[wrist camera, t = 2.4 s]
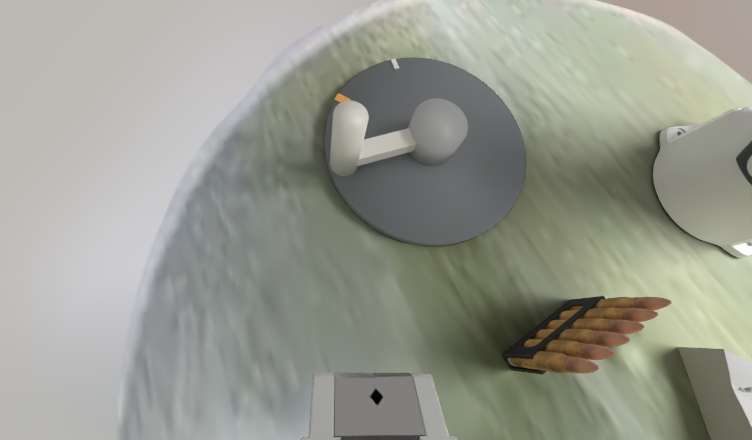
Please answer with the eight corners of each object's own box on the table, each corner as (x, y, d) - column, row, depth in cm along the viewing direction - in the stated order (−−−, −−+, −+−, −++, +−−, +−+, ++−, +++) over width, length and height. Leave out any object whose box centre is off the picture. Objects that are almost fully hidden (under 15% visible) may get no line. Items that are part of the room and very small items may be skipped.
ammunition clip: (571, 299, 40) (669, 285, 29) (581, 313, 40) (685, 305, 29) (501, 354, 37) (581, 363, 26) (511, 370, 37) (597, 387, 26)
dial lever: (442, 114, 43) (474, 58, 34) (462, 158, 42) (501, 111, 33) (321, 144, 39) (322, 89, 31) (339, 193, 38) (345, 150, 29)
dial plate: (471, 51, 49) (476, 41, 47) (552, 211, 43) (561, 206, 42) (298, 86, 43) (297, 77, 41) (366, 276, 37) (368, 273, 36)
